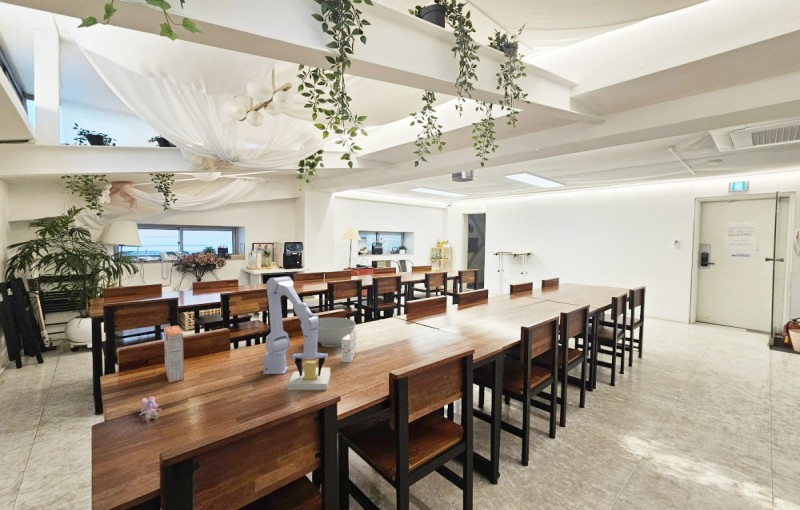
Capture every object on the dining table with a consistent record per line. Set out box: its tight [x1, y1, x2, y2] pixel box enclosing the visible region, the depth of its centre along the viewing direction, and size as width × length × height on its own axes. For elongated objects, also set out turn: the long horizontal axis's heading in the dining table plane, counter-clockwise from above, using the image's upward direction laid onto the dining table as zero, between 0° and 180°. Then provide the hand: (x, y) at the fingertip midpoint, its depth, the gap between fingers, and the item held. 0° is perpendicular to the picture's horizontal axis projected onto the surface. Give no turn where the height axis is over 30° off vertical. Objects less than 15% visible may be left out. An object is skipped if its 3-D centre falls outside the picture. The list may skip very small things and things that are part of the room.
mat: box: [316, 366, 332, 371], centre depth 161 cm, size 8×8×1 cm
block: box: [303, 360, 317, 380], centre depth 149 cm, size 4×4×9 cm
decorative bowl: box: [317, 317, 356, 348], centre depth 201 cm, size 27×27×12 cm
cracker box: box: [163, 325, 185, 384], centre depth 151 cm, size 14×6×21 cm, turn 39°
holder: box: [287, 370, 332, 391], centre depth 149 cm, size 16×13×2 cm
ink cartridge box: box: [341, 329, 357, 363], centre depth 177 cm, size 9×5×15 cm, turn 168°
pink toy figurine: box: [139, 396, 162, 424], centre depth 121 cm, size 6×6×15 cm
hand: (310, 375), depth 149 cm, fingers open, 7 cm apart
